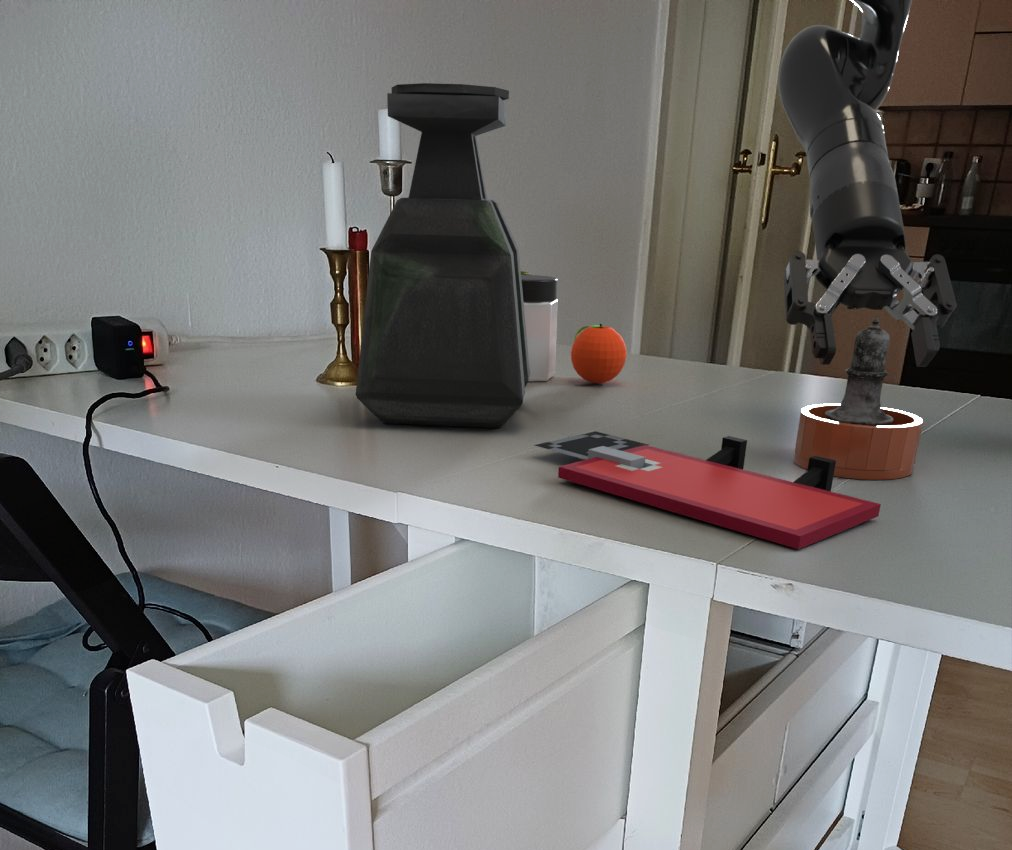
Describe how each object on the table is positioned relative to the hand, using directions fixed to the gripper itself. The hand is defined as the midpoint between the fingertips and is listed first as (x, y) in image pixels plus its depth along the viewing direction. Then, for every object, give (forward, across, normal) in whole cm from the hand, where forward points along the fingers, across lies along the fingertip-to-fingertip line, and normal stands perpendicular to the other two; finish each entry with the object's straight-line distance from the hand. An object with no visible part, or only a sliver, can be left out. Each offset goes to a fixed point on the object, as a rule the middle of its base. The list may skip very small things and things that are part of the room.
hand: (877, 360), depth 87 cm
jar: (-25, -28, +39) cm, 54 cm away
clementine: (-23, -19, +37) cm, 47 cm away
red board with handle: (+12, -17, +1) cm, 21 cm away
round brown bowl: (+6, 0, +8) cm, 10 cm away
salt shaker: (+5, 0, +7) cm, 9 cm away
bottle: (-8, -37, +21) cm, 43 cm away
